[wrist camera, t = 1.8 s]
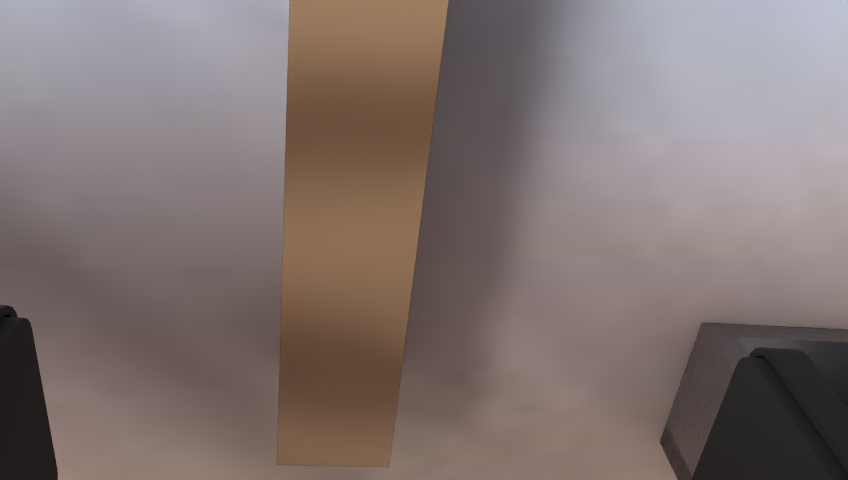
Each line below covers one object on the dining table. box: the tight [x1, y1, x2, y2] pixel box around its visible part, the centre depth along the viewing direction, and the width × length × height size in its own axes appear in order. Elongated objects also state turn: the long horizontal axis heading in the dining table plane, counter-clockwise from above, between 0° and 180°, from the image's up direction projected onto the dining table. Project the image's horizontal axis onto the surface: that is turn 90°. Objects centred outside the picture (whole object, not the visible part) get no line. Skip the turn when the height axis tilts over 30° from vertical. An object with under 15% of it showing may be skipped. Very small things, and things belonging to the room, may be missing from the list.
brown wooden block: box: [277, 0, 449, 467], centre depth 21 cm, size 22×4×5 cm, turn 173°
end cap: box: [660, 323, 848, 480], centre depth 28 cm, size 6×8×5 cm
